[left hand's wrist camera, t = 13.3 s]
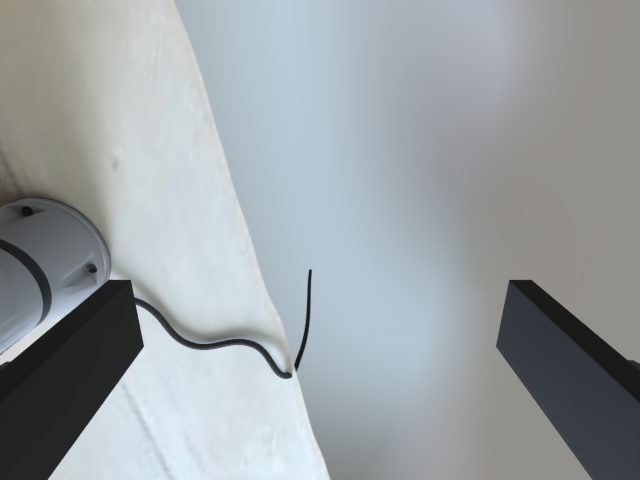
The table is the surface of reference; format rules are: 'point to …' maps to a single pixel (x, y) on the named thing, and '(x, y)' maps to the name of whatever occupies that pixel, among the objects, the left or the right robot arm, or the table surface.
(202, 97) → the table surface
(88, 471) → the table surface
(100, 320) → the left robot arm
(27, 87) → the table surface
